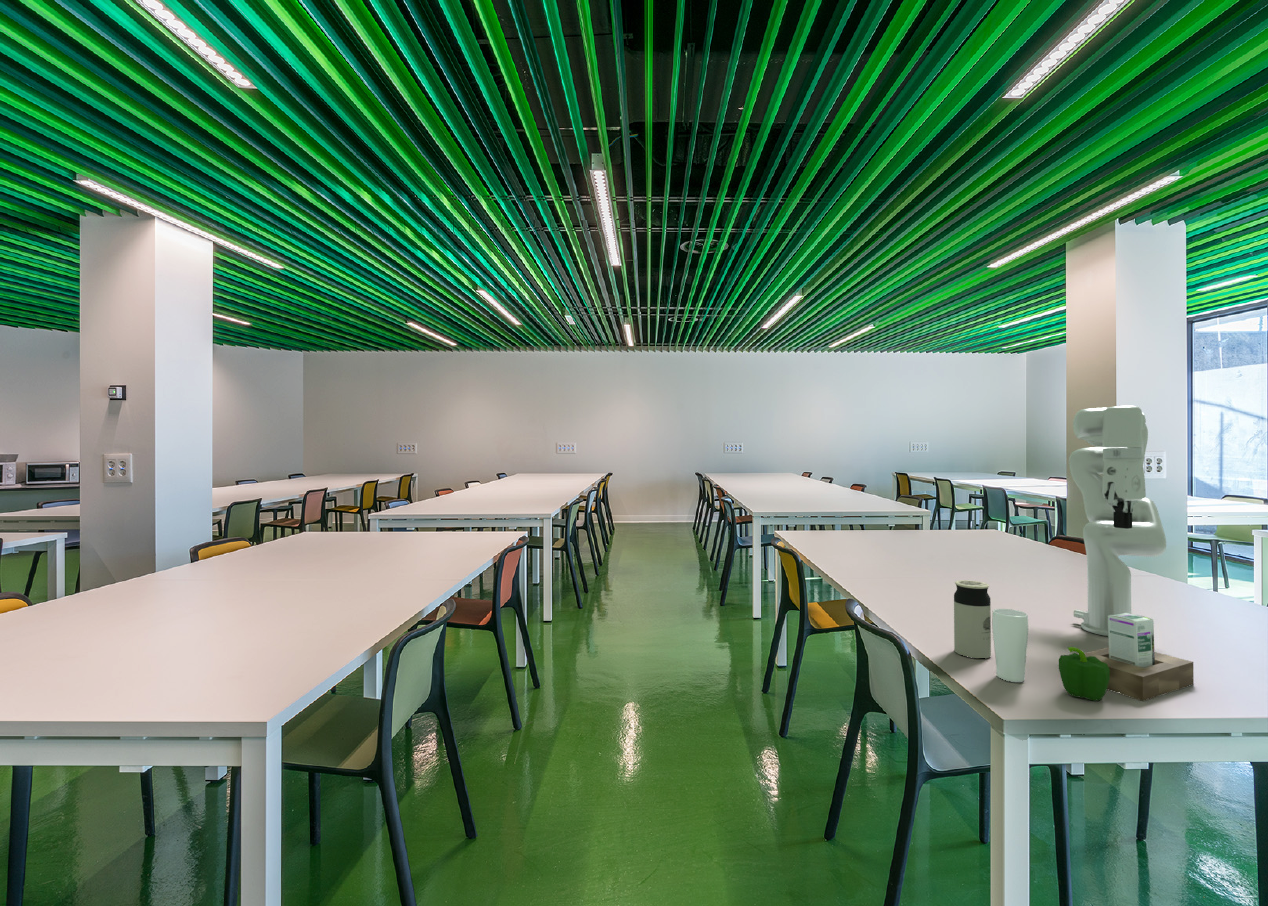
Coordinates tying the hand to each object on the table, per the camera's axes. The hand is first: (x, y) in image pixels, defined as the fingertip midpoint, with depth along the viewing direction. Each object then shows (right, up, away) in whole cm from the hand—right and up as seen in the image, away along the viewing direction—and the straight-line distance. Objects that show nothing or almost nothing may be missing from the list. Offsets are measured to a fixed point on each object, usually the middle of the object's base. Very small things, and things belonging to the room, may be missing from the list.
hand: (1122, 527), depth 141 cm
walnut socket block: (-12, -32, -16) cm, 38 cm away
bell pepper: (-29, -32, -24) cm, 49 cm away
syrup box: (-12, -32, -16) cm, 38 cm away
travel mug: (-37, -33, +1) cm, 50 cm away
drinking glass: (-38, -33, -14) cm, 52 cm away
